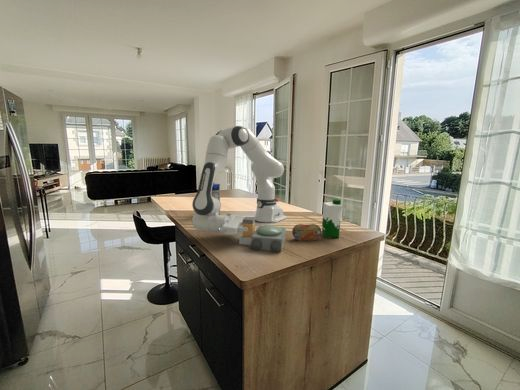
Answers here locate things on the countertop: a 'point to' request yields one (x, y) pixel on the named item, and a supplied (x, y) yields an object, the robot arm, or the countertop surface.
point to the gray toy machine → (266, 238)
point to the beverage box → (216, 191)
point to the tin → (306, 232)
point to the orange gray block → (249, 226)
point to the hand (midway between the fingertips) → (250, 226)
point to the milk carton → (331, 218)
